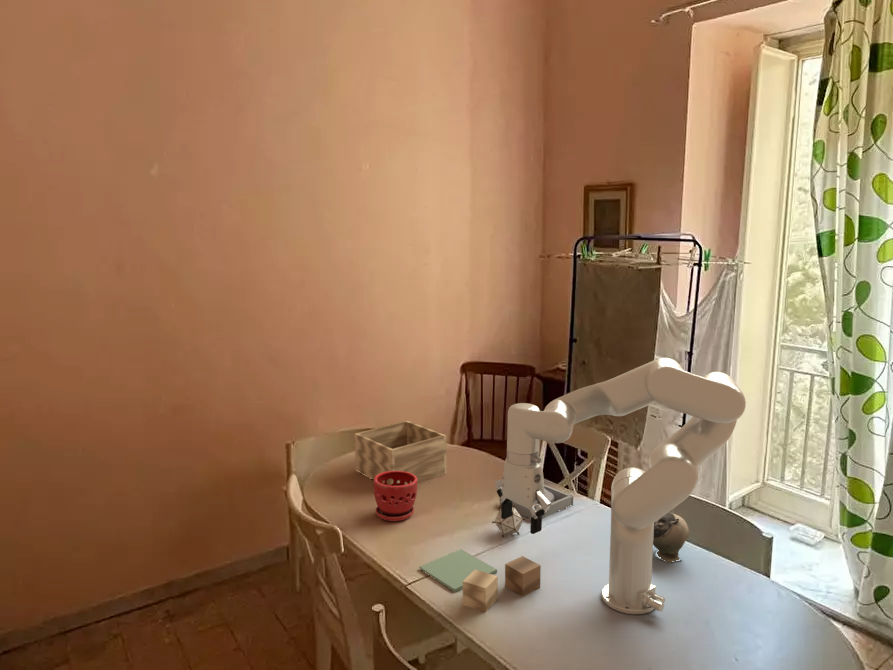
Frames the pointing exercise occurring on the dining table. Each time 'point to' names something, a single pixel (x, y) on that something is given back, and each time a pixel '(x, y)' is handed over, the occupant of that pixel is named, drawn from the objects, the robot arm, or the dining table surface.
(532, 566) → the walnut cube
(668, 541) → the brown round clay figure
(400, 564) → the dining table surface
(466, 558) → the mat
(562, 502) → the slate tray
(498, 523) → the game die
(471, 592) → the oak cube
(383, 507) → the plant pot
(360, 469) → the wooden crate
